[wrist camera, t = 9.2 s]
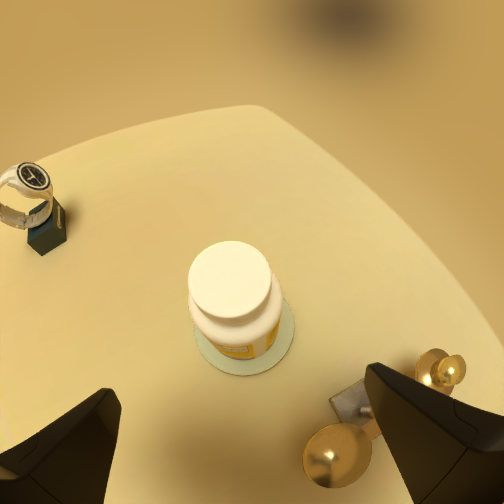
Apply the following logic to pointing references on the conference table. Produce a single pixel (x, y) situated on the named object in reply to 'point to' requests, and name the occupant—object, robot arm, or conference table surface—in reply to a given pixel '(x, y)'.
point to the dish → (258, 363)
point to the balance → (367, 423)
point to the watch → (41, 217)
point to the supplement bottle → (235, 299)
